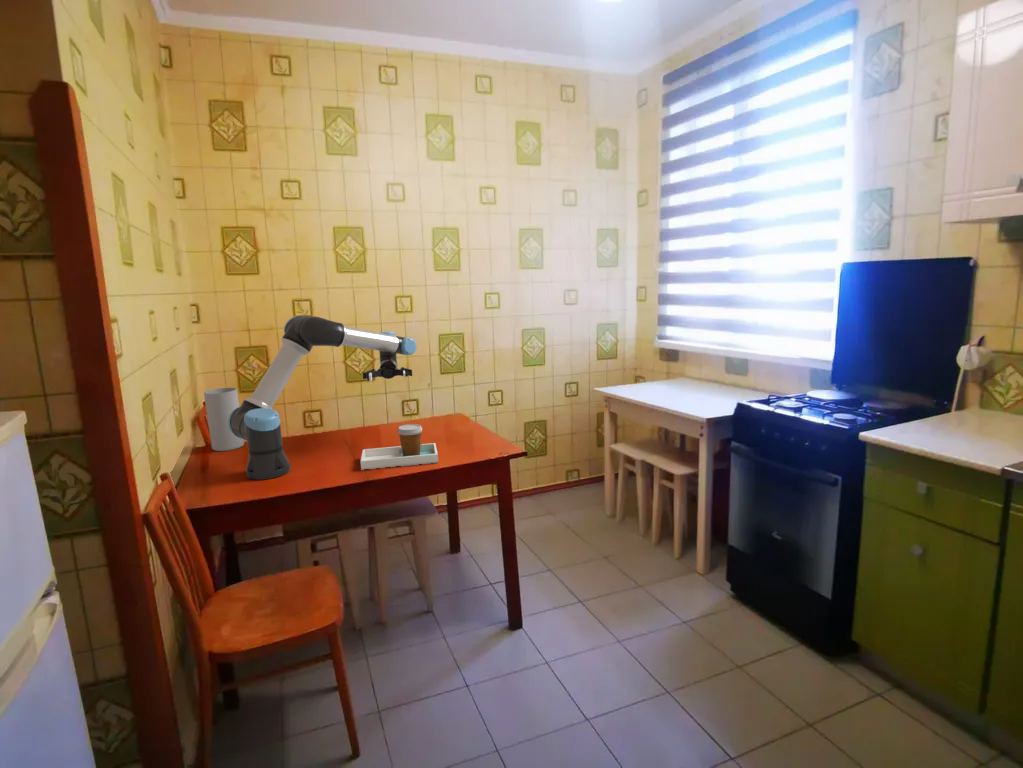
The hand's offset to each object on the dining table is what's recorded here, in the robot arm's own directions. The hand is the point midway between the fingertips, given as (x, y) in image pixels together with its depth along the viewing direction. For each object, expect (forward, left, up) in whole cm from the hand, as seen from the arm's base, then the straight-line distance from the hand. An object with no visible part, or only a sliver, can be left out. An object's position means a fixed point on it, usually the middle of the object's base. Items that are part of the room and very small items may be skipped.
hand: (387, 377), depth 226 cm
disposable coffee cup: (+8, -16, -29) cm, 34 cm away
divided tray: (+3, -17, -30) cm, 34 cm away
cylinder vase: (-70, +23, -30) cm, 80 cm away
